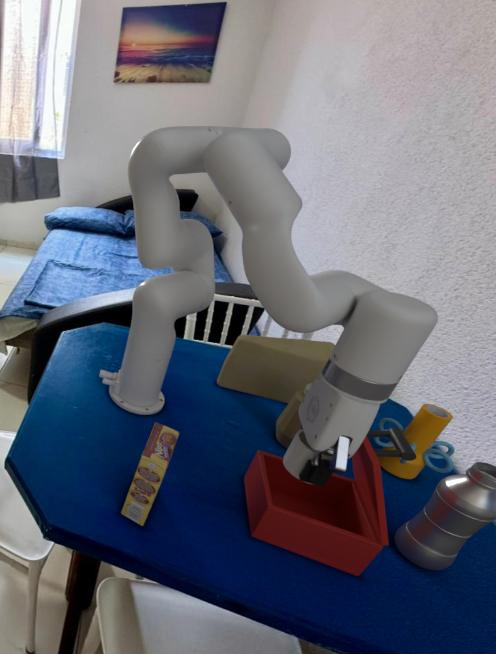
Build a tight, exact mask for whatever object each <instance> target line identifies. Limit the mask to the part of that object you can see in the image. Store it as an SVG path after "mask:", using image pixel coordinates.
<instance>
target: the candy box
mask: <svg viewBox="0 0 496 654" xmlns="http://www.w3.org/2000/svg"><path fill="white" fill-rule="evenodd" d="M179 436H180V432H179V431H178V430H176V429H174V428H171V427H169V426H167V425H164V424H161V423H159V422H154V425H153V427H152V429H151V432H150V434H149V438H148V439H147V442H146V444H145V447H144V449H143V452H142V453H141V456H140V459H139V461H138V464H137V467H136V470H135V472H134V475H133V478H132V481H131V484H130V486H129V489H128V492H127V495H126V498H125V501H124V503H123V506H122V509H121V511H120V514H121V515H122V516H124V517H126V518H128V519H129V520H131V521H133V522H134V523H136V524H137V525H139V526H141V527H144V525H145V523H146V521H147V518H148V516H149V513H150V512H151V509H152V506H153V504H154V502H155V499H156V497H157V494H158V493H159V490H160V487H161V485H162V483H163V480H164V477H165V476H166V471H167V470H168V467H169V464H170V462H171V459H172V456H173V453H174V450H175V447H176V444H177V441H178V439H179Z"/></svg>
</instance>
